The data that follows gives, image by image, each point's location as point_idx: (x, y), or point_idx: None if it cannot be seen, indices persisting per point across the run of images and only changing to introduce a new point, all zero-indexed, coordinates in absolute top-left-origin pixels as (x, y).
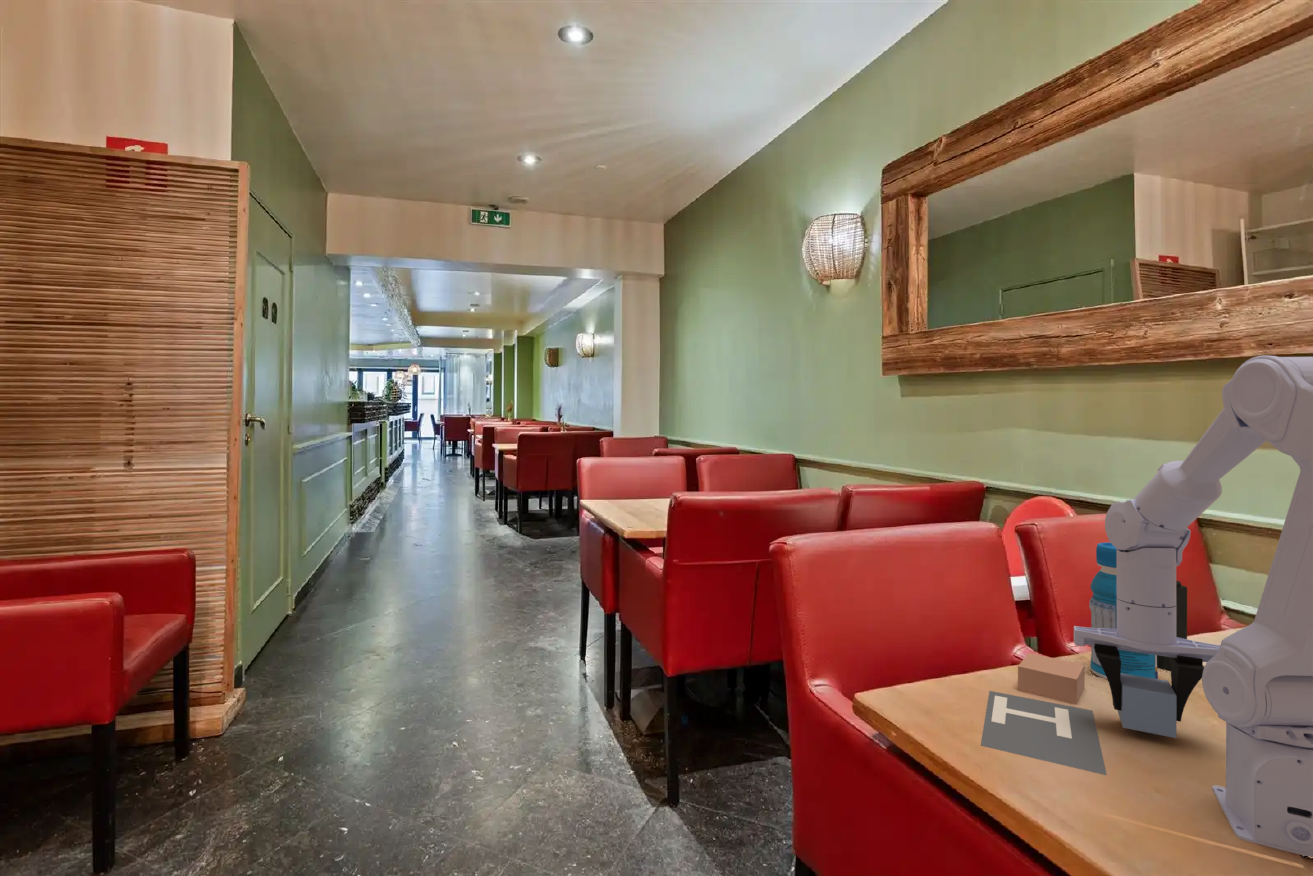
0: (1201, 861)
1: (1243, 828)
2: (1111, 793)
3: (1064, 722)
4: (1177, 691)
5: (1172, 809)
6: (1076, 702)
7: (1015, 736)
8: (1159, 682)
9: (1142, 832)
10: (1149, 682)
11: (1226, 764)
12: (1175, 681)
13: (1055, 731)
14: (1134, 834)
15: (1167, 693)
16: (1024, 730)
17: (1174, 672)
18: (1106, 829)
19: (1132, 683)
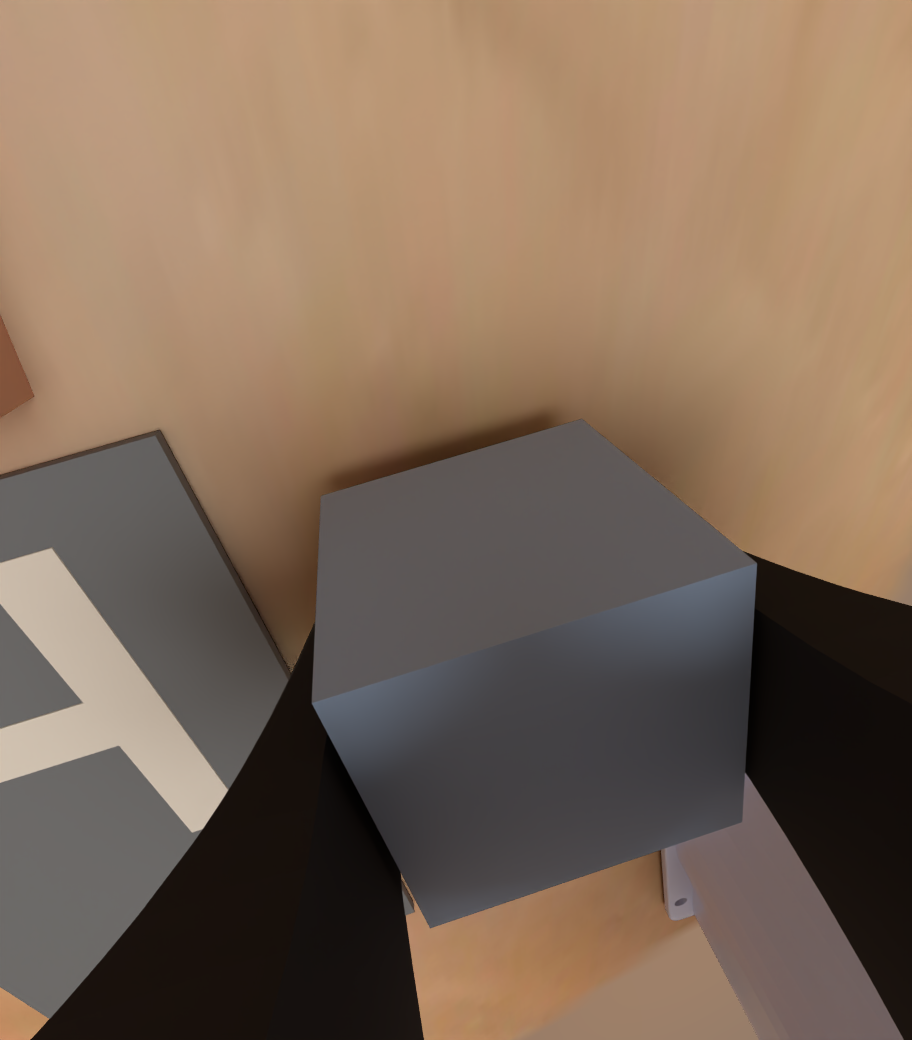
0: (597, 982)
1: (686, 898)
2: (437, 940)
3: (142, 713)
4: (768, 801)
5: (559, 900)
6: (14, 403)
7: (93, 931)
8: (673, 669)
9: (510, 990)
10: (595, 731)
11: (746, 971)
12: (816, 831)
13: (167, 809)
14: (499, 1002)
15: (694, 831)
16: (79, 881)
17: (885, 880)
18: (455, 1023)
19: (478, 843)
